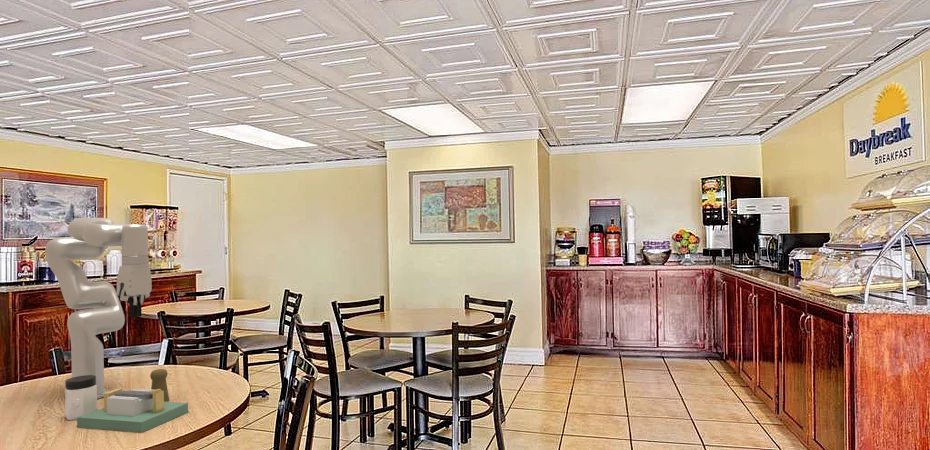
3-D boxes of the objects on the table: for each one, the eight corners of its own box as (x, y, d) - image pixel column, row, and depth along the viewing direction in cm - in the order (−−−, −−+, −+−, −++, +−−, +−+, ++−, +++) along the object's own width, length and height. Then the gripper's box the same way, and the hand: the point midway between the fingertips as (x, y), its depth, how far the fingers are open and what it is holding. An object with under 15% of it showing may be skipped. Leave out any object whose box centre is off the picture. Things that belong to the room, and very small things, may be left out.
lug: (150, 412, 166) (150, 391, 166) (158, 409, 169) (158, 388, 169) (156, 413, 165) (155, 391, 166) (164, 410, 168) (163, 389, 168)
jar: (59, 421, 170) (58, 382, 170) (71, 413, 178) (71, 376, 178) (91, 418, 172) (90, 380, 172) (102, 410, 180) (101, 374, 180)
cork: (160, 404, 184) (159, 372, 184) (145, 404, 185) (144, 371, 185) (173, 399, 190) (172, 367, 190) (158, 398, 191) (157, 367, 191)
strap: (114, 397, 169) (114, 391, 169) (123, 394, 172) (123, 388, 172) (149, 399, 166) (149, 393, 166) (157, 396, 169) (157, 390, 169)
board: (77, 427, 164) (76, 399, 164) (128, 408, 181) (127, 382, 181) (141, 432, 158) (141, 403, 158) (188, 412, 175) (187, 385, 175)
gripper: (144, 260, 189) (145, 312, 188) (105, 262, 174) (106, 320, 174) (162, 260, 187) (162, 313, 187) (124, 262, 172) (125, 320, 172)
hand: (135, 316), depth 180 cm, fingers closed
